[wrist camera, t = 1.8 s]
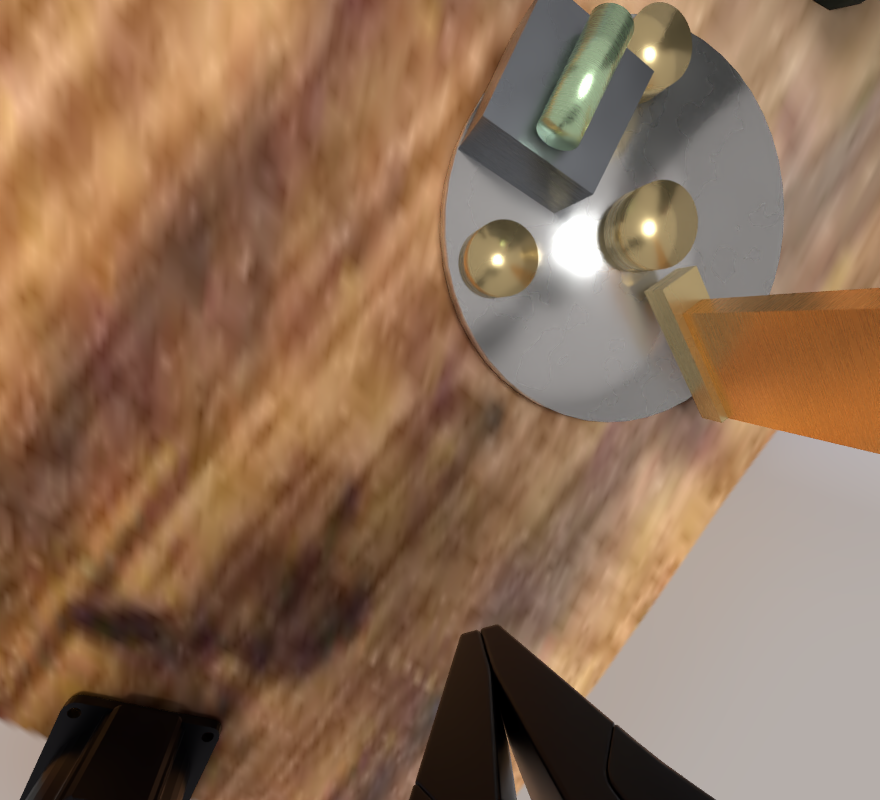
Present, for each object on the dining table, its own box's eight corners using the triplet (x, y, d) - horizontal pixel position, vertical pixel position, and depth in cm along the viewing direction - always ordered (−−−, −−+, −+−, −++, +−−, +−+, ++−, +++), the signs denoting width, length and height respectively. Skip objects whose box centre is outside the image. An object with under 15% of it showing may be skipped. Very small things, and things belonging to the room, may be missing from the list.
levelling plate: (664, 468, 24) (758, 508, 19) (371, 319, 19) (387, 318, 14) (818, 171, 24) (961, 127, 18) (556, -68, 18) (649, -228, 13)
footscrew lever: (591, 216, 19) (848, 112, 10) (653, 174, 20) (958, 34, 10) (690, 426, 23) (956, 502, 13) (742, 386, 23) (1037, 432, 13)
